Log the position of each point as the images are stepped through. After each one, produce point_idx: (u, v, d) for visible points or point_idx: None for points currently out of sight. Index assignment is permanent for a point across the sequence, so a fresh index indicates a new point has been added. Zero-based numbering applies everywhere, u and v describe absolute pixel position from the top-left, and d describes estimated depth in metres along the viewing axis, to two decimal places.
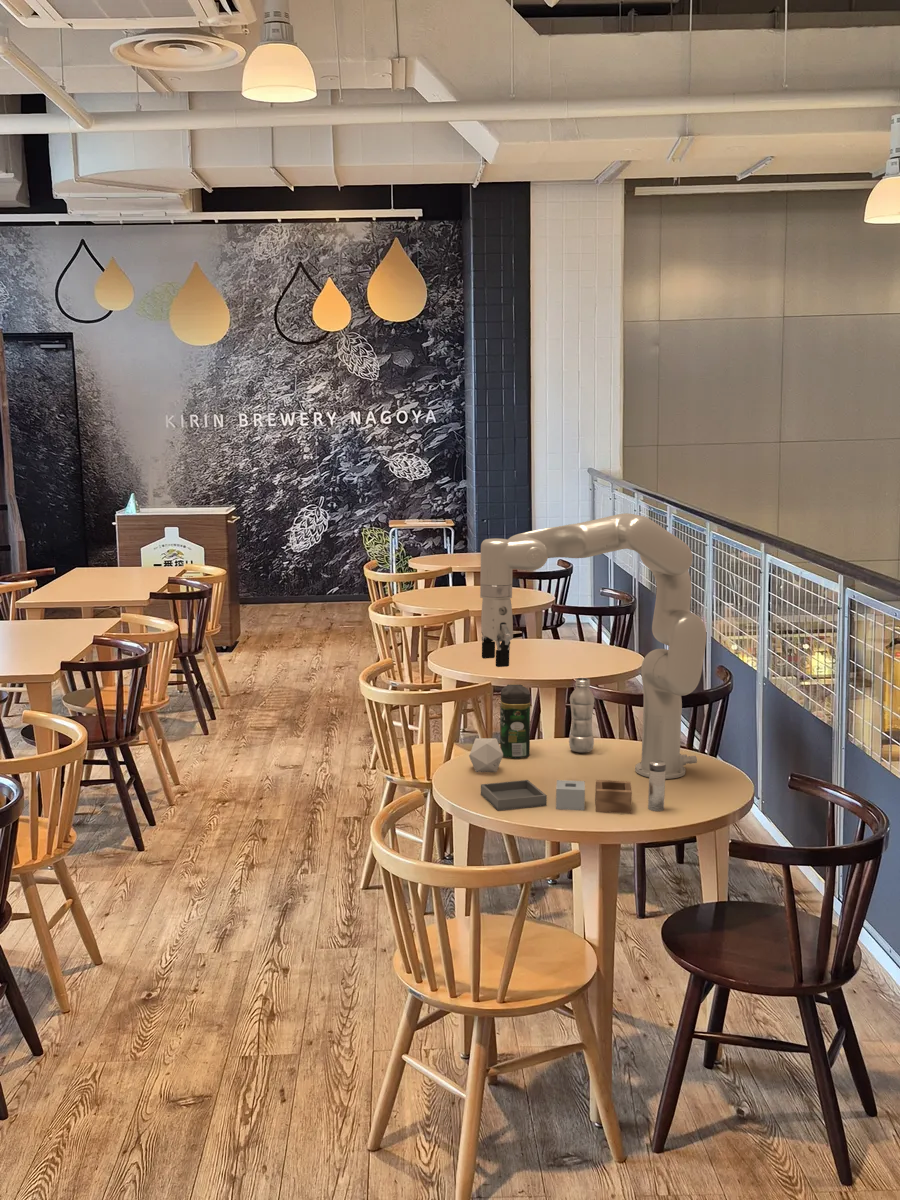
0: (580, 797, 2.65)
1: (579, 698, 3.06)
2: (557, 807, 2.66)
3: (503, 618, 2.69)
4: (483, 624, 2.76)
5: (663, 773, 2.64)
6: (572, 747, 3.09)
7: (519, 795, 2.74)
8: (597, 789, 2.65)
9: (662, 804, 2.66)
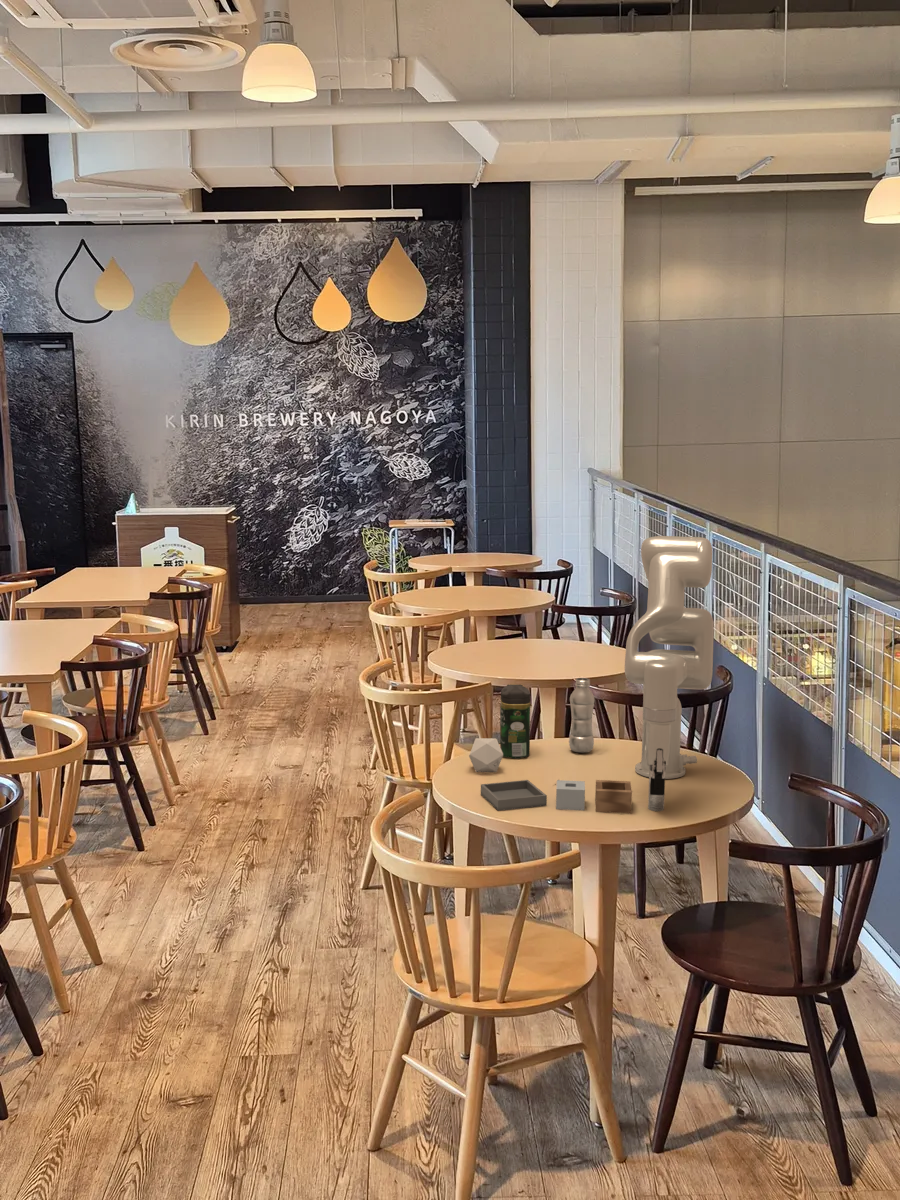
0: (580, 797, 2.65)
1: (579, 698, 3.06)
2: (557, 807, 2.66)
3: None
4: None
5: None
6: (572, 747, 3.09)
7: (519, 795, 2.74)
8: (597, 789, 2.65)
9: (662, 804, 2.66)
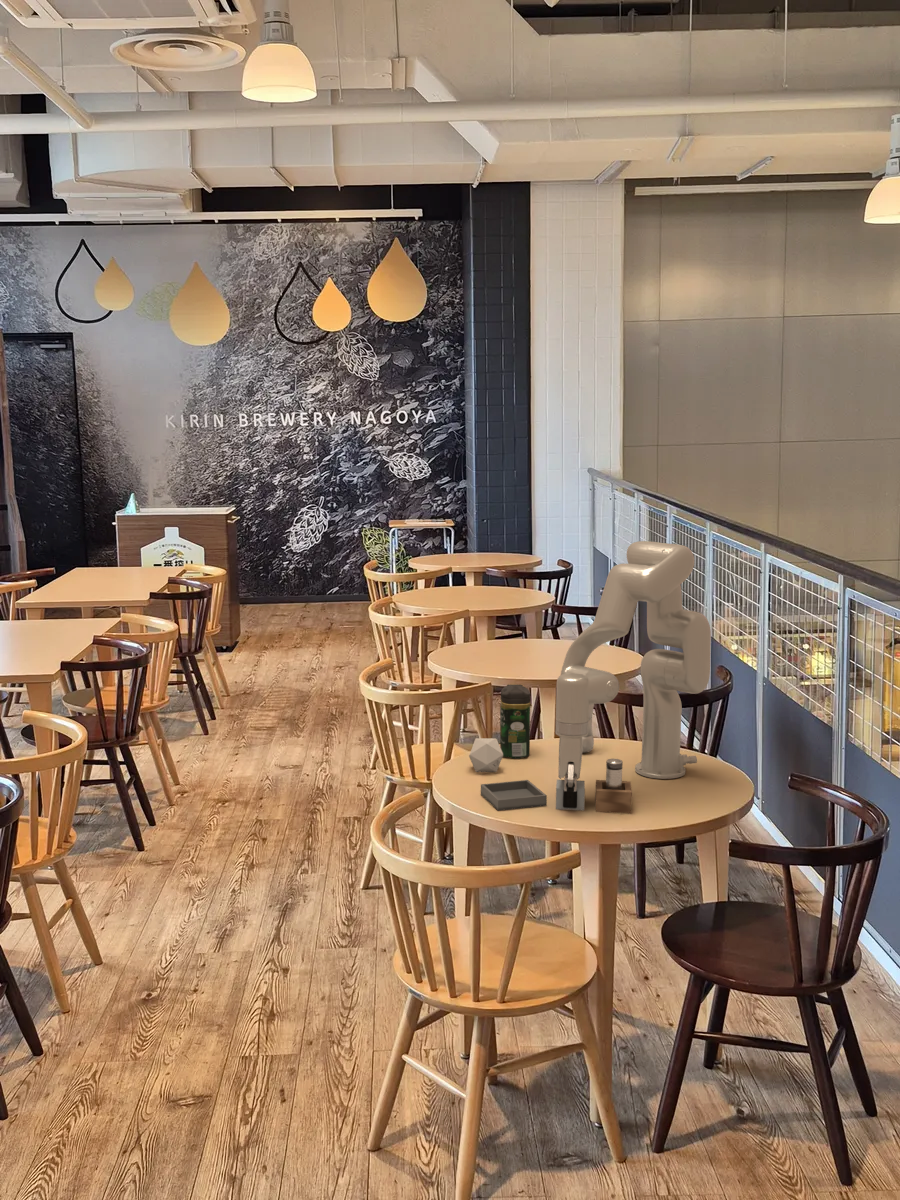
0: (580, 796, 2.65)
1: None
2: (557, 806, 2.66)
3: None
4: None
5: (620, 771, 2.66)
6: None
7: (519, 795, 2.74)
8: (597, 789, 2.65)
9: None
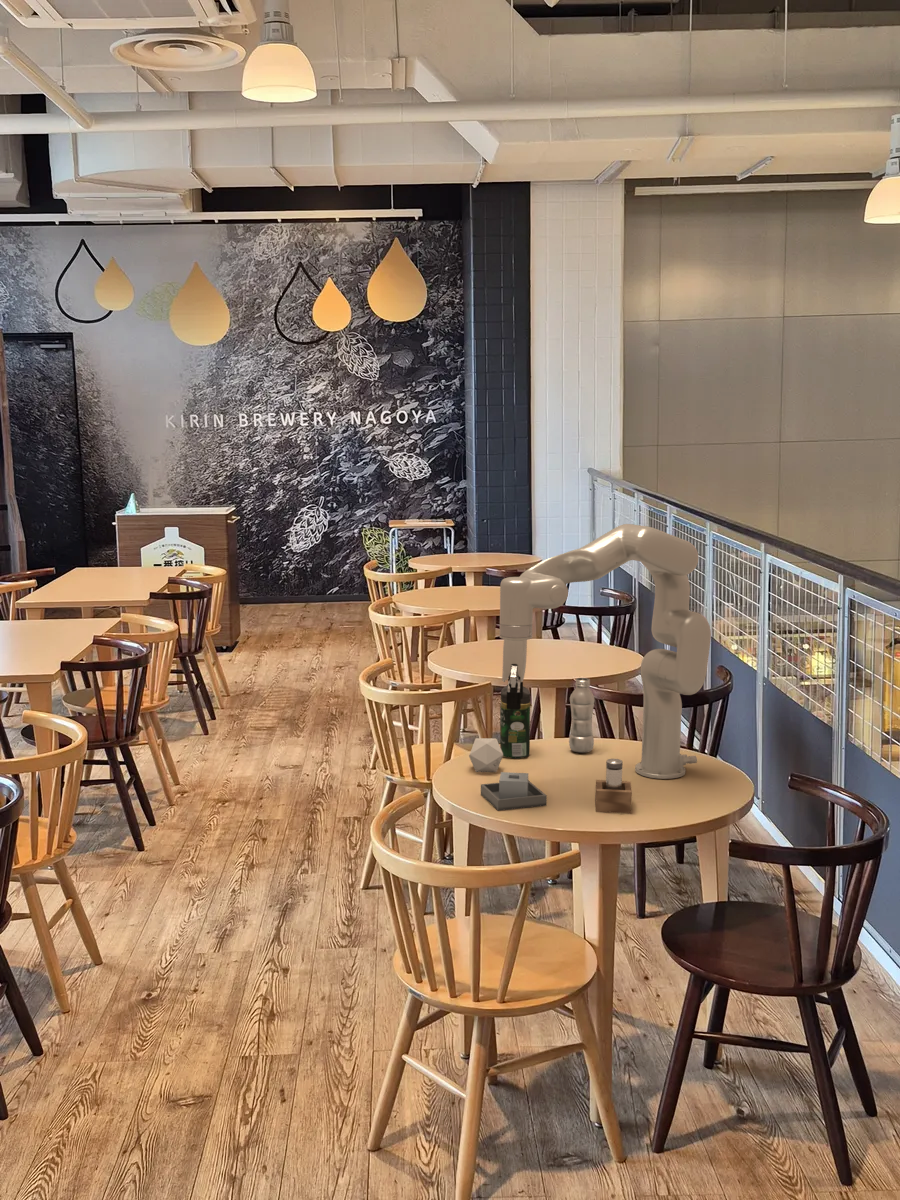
0: (523, 789, 2.68)
1: (579, 698, 3.06)
2: None
3: None
4: (524, 668, 2.65)
5: (620, 771, 2.66)
6: (572, 747, 3.09)
7: None
8: (597, 789, 2.65)
9: None
